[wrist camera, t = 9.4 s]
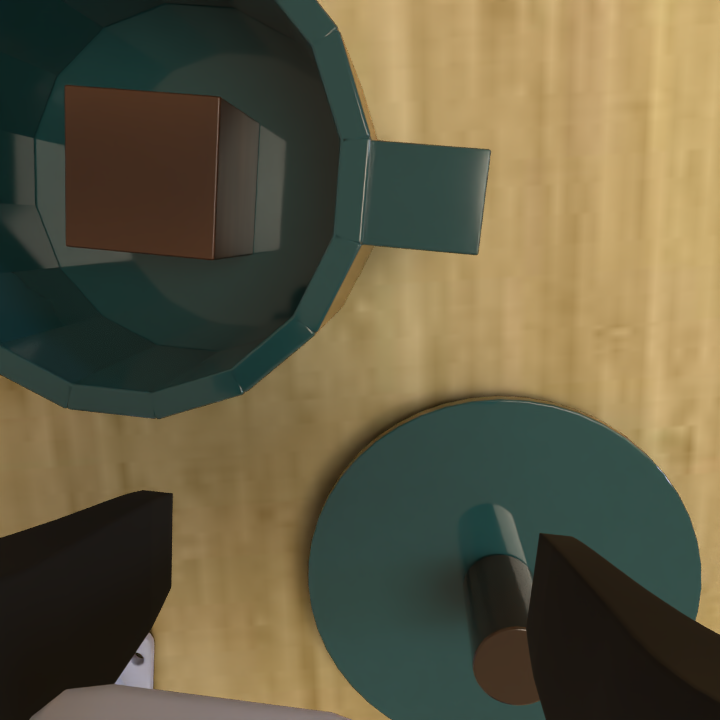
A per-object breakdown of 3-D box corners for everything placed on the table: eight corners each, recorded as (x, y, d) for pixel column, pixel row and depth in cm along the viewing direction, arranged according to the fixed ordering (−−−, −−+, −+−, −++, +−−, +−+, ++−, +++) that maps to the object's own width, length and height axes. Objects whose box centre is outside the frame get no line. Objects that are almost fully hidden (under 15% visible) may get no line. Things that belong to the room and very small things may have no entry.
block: (252, 254, 20) (213, 260, 16) (131, 243, 21) (64, 246, 17) (260, 122, 20) (220, 95, 16) (133, 112, 20) (63, 84, 16)
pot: (446, 393, 21) (456, 453, 15) (-48, 340, 22) (-210, 378, 17) (492, 3, 19) (525, -98, 13) (-65, -33, 20) (-263, -139, 14)
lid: (650, 753, 23) (715, 896, 18) (301, 703, 24) (270, 827, 19) (722, 413, 20) (820, 472, 15) (327, 371, 21) (298, 414, 16)
